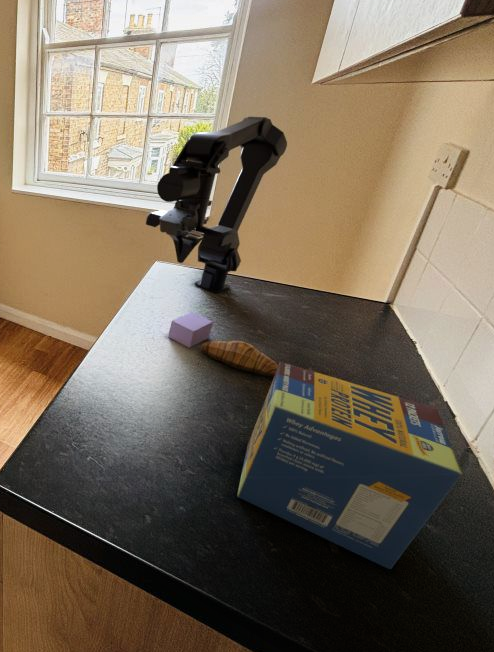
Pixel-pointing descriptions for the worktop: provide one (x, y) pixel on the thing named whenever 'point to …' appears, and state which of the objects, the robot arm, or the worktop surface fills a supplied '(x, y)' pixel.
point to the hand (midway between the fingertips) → (180, 262)
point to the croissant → (240, 356)
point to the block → (190, 329)
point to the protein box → (348, 462)
